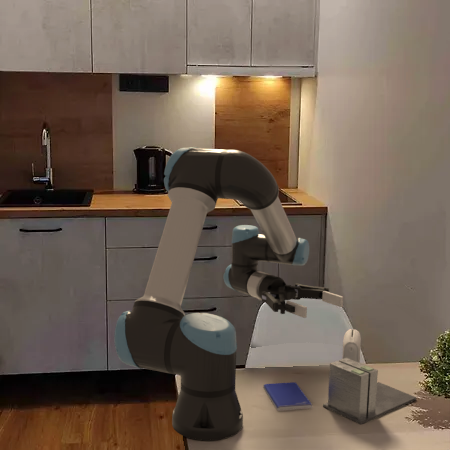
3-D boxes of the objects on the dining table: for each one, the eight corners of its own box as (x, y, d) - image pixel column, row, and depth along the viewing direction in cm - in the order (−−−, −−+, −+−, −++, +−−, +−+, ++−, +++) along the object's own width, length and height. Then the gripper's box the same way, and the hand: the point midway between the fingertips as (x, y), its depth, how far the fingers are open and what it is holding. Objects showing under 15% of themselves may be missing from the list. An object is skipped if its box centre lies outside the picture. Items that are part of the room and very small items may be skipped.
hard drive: (312, 403, 162) (296, 381, 174) (277, 406, 161) (263, 383, 173) (312, 410, 163) (295, 387, 175) (277, 412, 161) (263, 390, 173)
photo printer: (358, 388, 174) (360, 339, 171) (340, 386, 174) (342, 338, 172) (359, 371, 183) (362, 325, 181) (342, 370, 184) (344, 324, 182)
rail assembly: (360, 424, 155) (363, 377, 153) (322, 406, 163) (325, 361, 161) (416, 399, 168) (419, 356, 166) (378, 384, 176) (381, 342, 174)
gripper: (298, 292, 208) (355, 311, 192) (233, 309, 192) (289, 331, 176) (299, 267, 206) (356, 284, 190) (233, 282, 191) (289, 302, 175)
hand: (324, 307), depth 183 cm, fingers open, 13 cm apart
